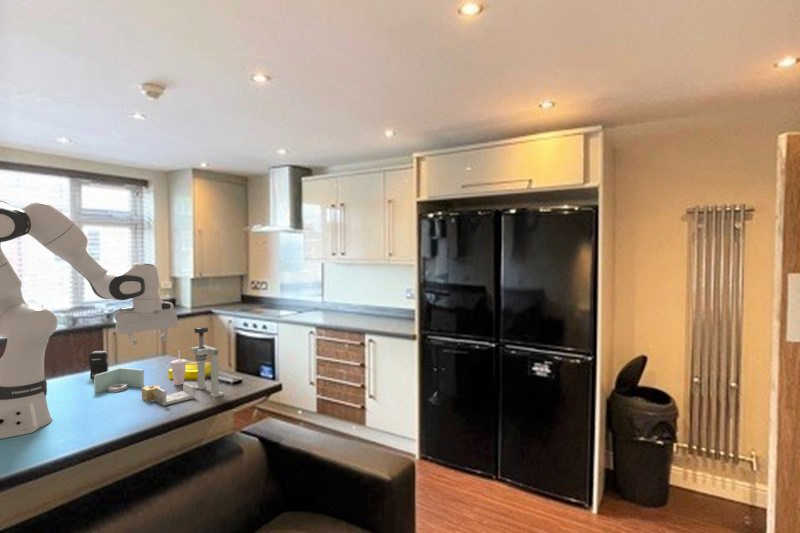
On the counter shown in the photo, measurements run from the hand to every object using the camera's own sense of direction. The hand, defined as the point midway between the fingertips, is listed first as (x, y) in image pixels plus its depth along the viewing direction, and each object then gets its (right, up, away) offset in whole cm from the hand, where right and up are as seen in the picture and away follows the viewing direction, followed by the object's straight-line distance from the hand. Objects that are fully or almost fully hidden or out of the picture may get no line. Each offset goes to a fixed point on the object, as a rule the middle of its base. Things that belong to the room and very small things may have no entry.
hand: (148, 342), depth 168 cm
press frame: (+17, -22, +8) cm, 28 cm away
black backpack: (-37, -21, +27) cm, 51 cm away
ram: (+17, -8, +7) cm, 20 cm away
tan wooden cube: (+1, -22, +1) cm, 22 cm away
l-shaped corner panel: (-18, -22, +12) cm, 31 cm away
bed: (+10, -22, 0) cm, 24 cm away
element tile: (+1, -21, +33) cm, 39 cm away
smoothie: (+2, -21, +20) cm, 29 cm away
